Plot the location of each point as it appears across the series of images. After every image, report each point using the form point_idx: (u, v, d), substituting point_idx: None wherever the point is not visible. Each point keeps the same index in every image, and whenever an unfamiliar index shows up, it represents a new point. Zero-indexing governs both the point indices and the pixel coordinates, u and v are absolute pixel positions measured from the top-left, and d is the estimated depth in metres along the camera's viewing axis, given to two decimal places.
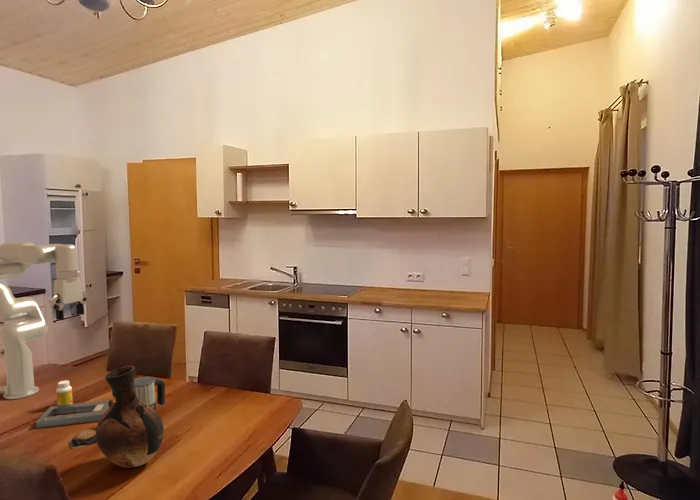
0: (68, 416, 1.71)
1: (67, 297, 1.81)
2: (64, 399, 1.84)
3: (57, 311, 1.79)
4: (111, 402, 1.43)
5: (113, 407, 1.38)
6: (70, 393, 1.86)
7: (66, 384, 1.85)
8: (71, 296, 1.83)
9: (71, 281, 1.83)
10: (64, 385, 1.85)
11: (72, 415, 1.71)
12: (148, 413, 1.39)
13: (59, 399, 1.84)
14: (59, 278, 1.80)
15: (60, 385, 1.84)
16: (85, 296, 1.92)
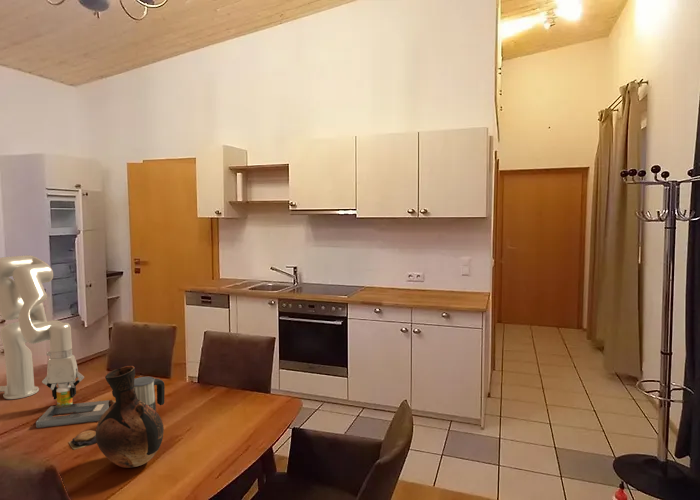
0: (68, 416, 1.71)
1: None
2: (64, 399, 1.84)
3: (75, 387, 1.87)
4: (111, 402, 1.43)
5: (113, 407, 1.38)
6: None
7: (66, 384, 1.85)
8: None
9: None
10: (64, 385, 1.85)
11: (72, 415, 1.71)
12: (148, 413, 1.39)
13: (59, 399, 1.84)
14: (71, 355, 1.86)
15: (60, 385, 1.84)
16: None
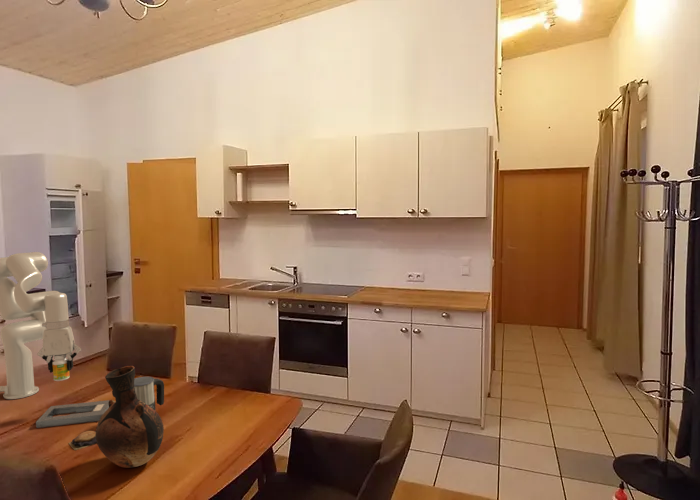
0: (68, 416, 1.71)
1: None
2: (61, 372, 1.77)
3: (72, 360, 1.80)
4: (111, 402, 1.43)
5: (113, 407, 1.38)
6: None
7: (63, 356, 1.77)
8: None
9: None
10: (61, 357, 1.77)
11: (72, 415, 1.71)
12: (148, 413, 1.39)
13: (55, 372, 1.76)
14: (68, 326, 1.78)
15: (56, 357, 1.76)
16: None
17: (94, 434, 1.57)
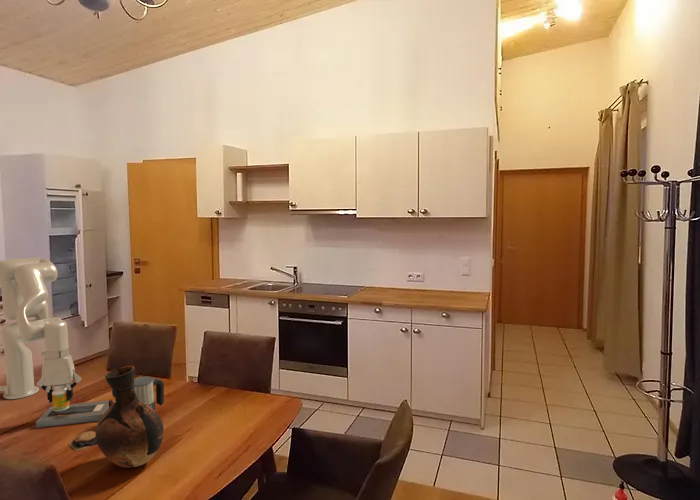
0: (68, 416, 1.71)
1: None
2: (60, 403, 1.72)
3: (72, 390, 1.75)
4: (111, 402, 1.43)
5: (113, 407, 1.38)
6: None
7: (62, 386, 1.73)
8: None
9: None
10: (60, 387, 1.72)
11: (72, 415, 1.71)
12: (148, 413, 1.39)
13: (54, 403, 1.72)
14: (68, 355, 1.74)
15: (56, 387, 1.72)
16: None
17: (95, 434, 1.56)
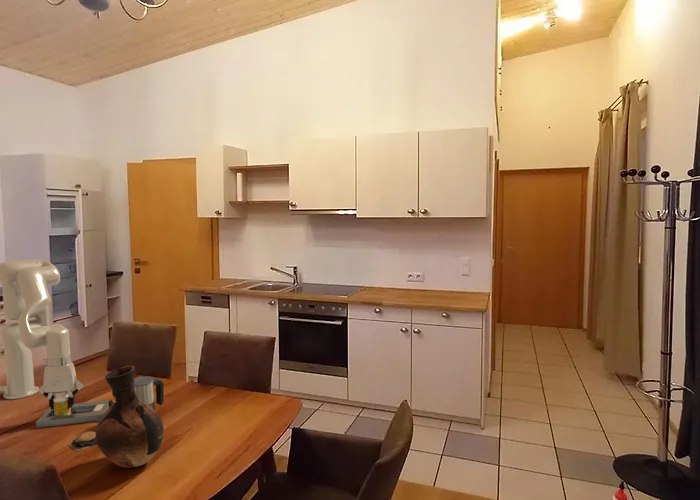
0: (68, 416, 1.71)
1: None
2: (62, 409, 1.73)
3: (73, 397, 1.76)
4: (111, 402, 1.43)
5: (113, 407, 1.38)
6: None
7: (64, 393, 1.73)
8: None
9: None
10: (62, 394, 1.73)
11: (72, 415, 1.71)
12: (148, 413, 1.39)
13: (56, 410, 1.72)
14: (70, 362, 1.74)
15: (57, 394, 1.72)
16: None
17: (95, 434, 1.56)
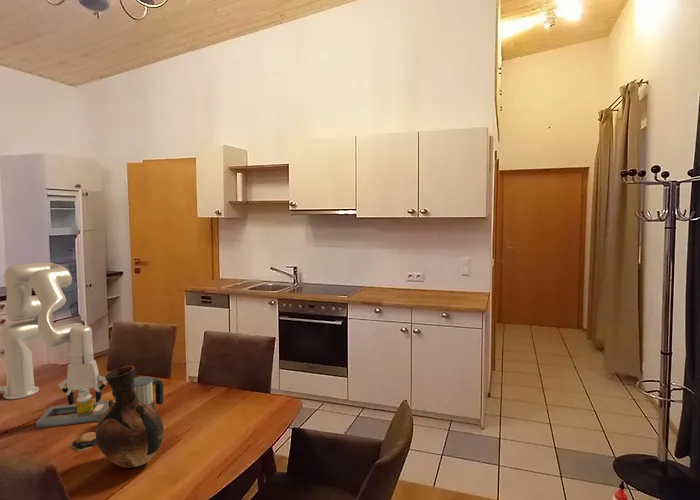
0: (68, 416, 1.71)
1: None
2: (85, 409, 1.75)
3: (100, 391, 1.78)
4: (111, 402, 1.43)
5: (113, 407, 1.38)
6: (91, 402, 1.76)
7: (87, 393, 1.75)
8: None
9: None
10: (85, 394, 1.75)
11: (72, 415, 1.71)
12: (148, 413, 1.39)
13: (79, 409, 1.74)
14: (92, 360, 1.76)
15: (80, 394, 1.74)
16: None
17: None
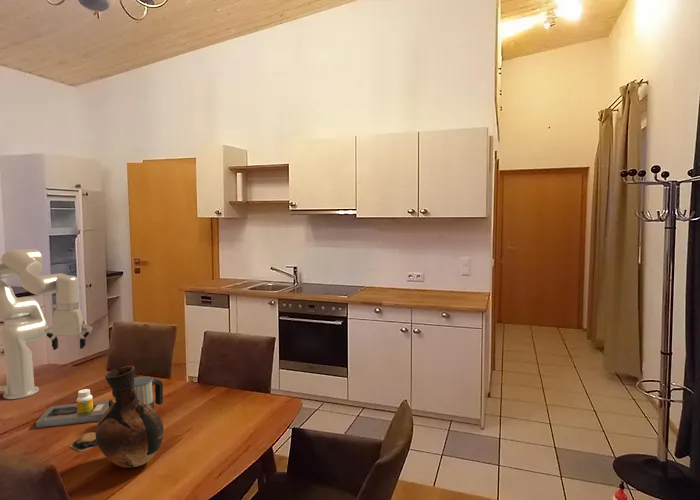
0: (68, 416, 1.71)
1: None
2: (85, 409, 1.75)
3: (84, 339, 1.86)
4: (111, 402, 1.43)
5: (113, 407, 1.38)
6: (91, 402, 1.76)
7: (87, 393, 1.75)
8: None
9: None
10: (85, 394, 1.75)
11: (72, 415, 1.71)
12: (148, 413, 1.39)
13: (79, 409, 1.74)
14: (77, 308, 1.84)
15: (81, 394, 1.74)
16: None
17: None
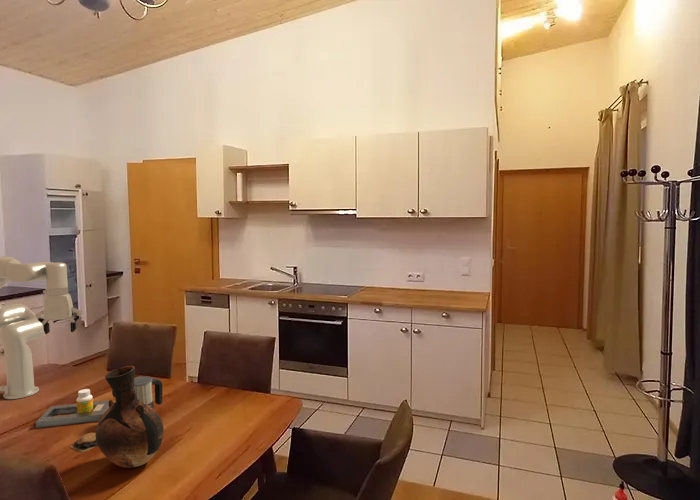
0: (68, 416, 1.71)
1: None
2: (85, 409, 1.75)
3: (75, 323, 1.94)
4: (111, 402, 1.43)
5: (113, 407, 1.38)
6: (91, 402, 1.76)
7: (87, 393, 1.75)
8: None
9: None
10: (85, 394, 1.75)
11: (72, 415, 1.71)
12: (148, 413, 1.39)
13: (79, 409, 1.74)
14: (67, 293, 1.92)
15: (81, 394, 1.74)
16: None
17: None
